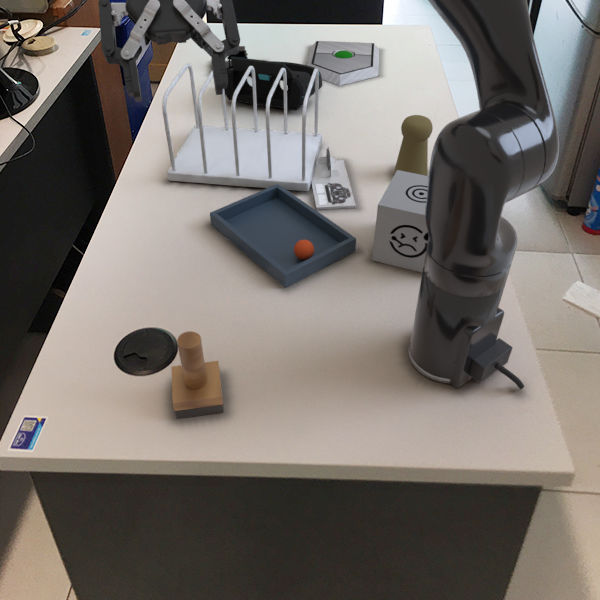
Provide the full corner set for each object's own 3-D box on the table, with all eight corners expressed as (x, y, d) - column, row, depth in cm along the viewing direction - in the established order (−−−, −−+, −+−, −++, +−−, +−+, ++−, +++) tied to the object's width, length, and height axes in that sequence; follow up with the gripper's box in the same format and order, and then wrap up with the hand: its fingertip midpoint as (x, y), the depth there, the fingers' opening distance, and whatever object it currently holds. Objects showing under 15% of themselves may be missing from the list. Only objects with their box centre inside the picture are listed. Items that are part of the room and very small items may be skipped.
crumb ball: (321, 252, 93) (311, 234, 93) (305, 259, 92) (295, 241, 91) (311, 257, 96) (302, 240, 96) (296, 265, 94) (287, 247, 94)
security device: (301, 84, 141) (301, 75, 139) (310, 46, 157) (311, 38, 155) (378, 88, 139) (378, 79, 138) (379, 49, 156) (380, 41, 154)
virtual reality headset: (214, 104, 130) (213, 54, 125) (255, 80, 148) (255, 34, 142) (299, 117, 126) (301, 65, 120) (330, 90, 143) (334, 44, 138)
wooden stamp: (220, 376, 78) (212, 319, 71) (224, 412, 74) (216, 355, 67) (174, 382, 77) (162, 324, 70) (175, 419, 73) (163, 361, 66)
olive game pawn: (426, 186, 110) (435, 128, 102) (391, 183, 110) (398, 125, 103) (428, 169, 114) (437, 112, 106) (394, 165, 115) (401, 108, 107)
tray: (355, 251, 96) (356, 238, 95) (285, 287, 90) (285, 275, 88) (278, 195, 108) (277, 183, 106) (210, 225, 101) (209, 212, 100)
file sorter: (168, 182, 111) (152, 97, 100) (195, 134, 123) (184, 55, 113) (308, 192, 108) (308, 106, 97) (322, 142, 120) (322, 61, 110)
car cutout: (307, 163, 115) (307, 141, 112) (343, 161, 116) (344, 139, 113) (316, 209, 104) (316, 186, 101) (355, 207, 105) (357, 184, 102)
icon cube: (452, 238, 99) (463, 183, 92) (437, 276, 92) (448, 220, 85) (390, 224, 101) (397, 169, 95) (372, 260, 95) (377, 204, 88)
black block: (211, 75, 144) (208, 55, 141) (212, 62, 150) (210, 43, 146) (265, 73, 145) (264, 53, 141) (264, 61, 150) (263, 41, 147)
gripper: (82, -73, 62) (104, 88, 62) (225, -80, 64) (248, 75, 64) (95, -30, 70) (115, 114, 69) (224, -37, 72) (244, 102, 71)
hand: (179, 95), depth 66 cm, fingers open, 8 cm apart
